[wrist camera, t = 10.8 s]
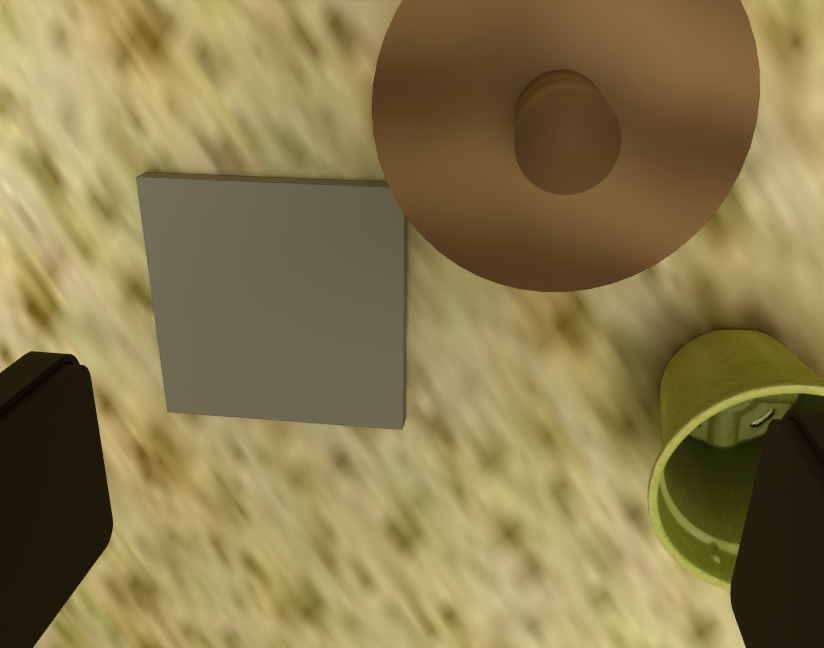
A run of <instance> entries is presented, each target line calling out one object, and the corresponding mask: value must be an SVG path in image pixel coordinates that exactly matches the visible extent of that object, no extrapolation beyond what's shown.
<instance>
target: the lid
mask: <svg viewBox="0 0 824 648" xmlns="http://www.w3.org/2000/svg"><path fill="white" fill-rule="evenodd" d="M759 98H760V70H759V62H758V56H757V49H756V42H755V39H754V36H753V32H752V29H751V26H750V22H749V19H748V16H747V14H746V12H745V10H744V7H743V5H742V3H741V1H740V0H403V1H402V2H401V4H400V6H399V7H398V9H397V11H396V13H395V15H394V17H393V19H392V21H391V24H390V26H389V28H388V30H387V32H386V35H385V38H384V41H383V44H382V47H381V50H380V54H379V57H378V61H377V66H376V72H375V77H374V82H373V97H372V119H373V133H374V138H375V143H376V148H377V153H378V158H379V161H380V164H381V167H382V170H383V173H384V176H385V179H386V181H387V183H388V185H389V187H390V189H391V191H392V194H393V196H394V198H395V200H396V202H397V203H398V205H399V206H400V208H401V209H402V211H403V212H404V214H405V215H406V217H407V218H408V220H409V221H410V222H411V223H412V225H413V226H414V227H415V228H416V229H417V231H418V232H419V233H420V234H421V235H422V236H423V238H425V239H426V240H427V241H428V242H429V243H430V244H431V245H432V246H433V247H434V248H436V249H437V250H438V251H439V252H440V253H441V254H443V255H444V256H446V257H447V258H449V259H450V260H451V261H453V262H454V263H456V264H457V265H459V266H460V267H462V268H464V269H466V270H468V271H470V272H472V273H474V274H476V275H477V276H480V277H482V278H485V279H488V280H490V281H493V282H496V283H498V284H502V285H506V286H510V287H514V288H518V289H523V290H532V291H540V292H569V291H578V290H586V289H592V288H596V287H600V286H604V285H608V284H612V283H615V282H618V281H620V280H623V279H626V278H628V277H631V276H634V275H636V274H638V273H640V272H642V271H644V270H646V269H648V268H650V267H651V266H653V265H655V264H657V263H659V262H660V261H662V260H663V259H665V258H666V257H668V256H669V255H671V254H672V253H673V252H675V251H676V250H678V249H679V248H680V247H681V246H682V245H684V244H685V243H686V242H687V241H688V240H689V239H691V238H692V237H693V236H694V235H695V234H696V233H697V232H698V231H699V230H700V229H701V228H702V227H703V226H704V225H705V223H706V222H707V221H708V220H709V219H710V218H711V217H712V216H713V215H714V213H715V212H716V210H717V209H718V208H719V206H720V205H721V203H722V202H723V201H724V199H725V198H726V196H727V195H728V194H729V192H730V190H731V188H732V186H733V184H734V183H735V181H736V179H737V177H738V175H739V173H740V172H741V169H742V167H743V164H744V161H745V159H746V156H747V154H748V151H749V149H750V146H751V142H752V138H753V134H754V130H755V126H756V122H757V115H758V106H759Z"/></svg>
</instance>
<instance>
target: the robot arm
mask: <svg viewBox="0 0 824 648" xmlns="http://www.w3.org/2000/svg"><path fill="white" fill-rule="evenodd" d="M112 529H113V517H112V511H111V504H110V498H109V491H108V485H107V478H106V472H105V465H104V459H103V452H102V446H101V439H100V433H99V427H98V420H97V414H96V407H95V401H94V394H93V388H92V381H91V376H90V372H89V370H88V368H87V367H86V366H84V365H80V364H79V362H78V360H77V358H76V357H75V356H73V355H72V354H60V353H47V352H34V351H31V352H29V353H27V354H25V355H24V356H22V357H21V358H20V359H18V360H17V361H16V362H14V363H13V364H12V365H10V366H9V367H8V368H6V369H5V370H4V371H2V372H1V373H0V648H33V647H34V645H35V644H36V643H37V641H38V640H39V639H40V637H41V636H42V634H43V633H44V632H45V630H46V629H47V628H48V626H49V625H50V624H51V622H52V621H53V619H54V618H55V617H56V615H57V614H58V613H59V611H60V610H61V608H62V607H63V606H64V604H65V603H66V602H67V600H68V599H69V597H70V596H71V595H72V593H73V592H74V591H75V589H76V588H77V587H78V585H79V584H80V582H81V581H82V580H83V578H84V577H85V576H86V574H87V573H88V571H89V570H90V569H91V567H92V566H93V565H94V563H95V562H96V561H97V559H98V558H99V556H100V555H101V554H102V552H103V551H104V550H105V548H106V547H107V545H108V543H109V541H110V538H111V534H112ZM730 595H731V605H732V609H733V612H734V615H735V618H736V621H737V624H738V626H739V629H740V632H741V635H742V638H743V641H744V643H745V646H746V648H824V412H820V411H807V410H794V409H790V410H788V411H787V412H786V413H785V415H784V416H783V419H772V420H771V421H770V423H769V425H768V427H767V431H766V435H765V439H764V443H763V448H762V452H761V456H760V460H759V465H758V469H757V473H756V477H755V482H754V486H753V490H752V494H751V499H750V503H749V507H748V511H747V516H746V520H745V524H744V528H743V533H742V537H741V541H740V546H739V550H738V554H737V558H736V563H735V567H734V571H733V575H732V580H731V589H730Z"/></svg>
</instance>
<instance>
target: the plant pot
mask: <svg viewBox="0 0 824 648" xmlns="http://www.w3.org/2000/svg"><path fill="white" fill-rule="evenodd" d="M772 408H773V409H775V413H774V415H773V416H772V417H771V418H769V419H768V420H767V421H765V422H764V423H763V424H761V425H759V426H758V427H751V426H750V424H751V423H752V422H754V421H756V420H757V419H760V418H762V417H763V416H764V415H765V414H767V413H768V412H769V411H770V410H771V409H772ZM660 409H661V437H662V448H661V451H660V453H659V455H658V457H657V459H656V461H655V464H654V466H653V469H652V472H651V475H650V479H649V486H648V510H649V515H650V520H651V524H652V526H653V529H654V531H655V533H656V535H657V537H658V539H659V541H660V543H661V544H662V546H663V547H664V549H665V550H666V551H667V552H668V554H669V555H670V556H671V557H672V558H673V559H674V560H675V561H676V562H677V563H678V564H680V565H681V566H682V567H683V568H685V569H686V570H687V571H689V572H690V573H691V574H693V575H694V576H696V577H698V578H699V579H701V580H703V581H705V582H707V583H709V584H711V585H714V586H716V587H718V588H722V589H725V590H728V591H730V589H731V580H732V575H733V571H734V567H735V563H736V558H737V554H738V550H739V546H740V541H741V537H742V533H743V528H744V524H745V520H746V516H747V511H748V507H749V503H750V499H751V494H752V490H753V486H754V482H755V477H756V473H757V469H758V465H759V460H760V456H761V452H762V448H763V443H764V439H765V435H766V431H767V427H768V425H769V423H770V421H771V420H772V419H783V416H784V415H785V413H786V412H787V411H788V410H790V409H794V410H807V411H820V412H824V380H823V379H821V378H820V377H819V376H818V375H817V374H816V373H814V372H813V371H812V370H811V369H810V368H809V367H807V366H806V365H805V364H804V363H803V362H802V361H801V360H800V359H798V358H797V357H796V356H795V355H794V354H793V353H792V352H790V351H789V350H788V349H787V348H786V347H785V346H784V345H782V344H781V343H780V342H779V341H777V340H776V339H774V338H772V337H771V336H769V335H767V334H765V333H762V332H759V331H755V330H715V331H712V332H708V333H706V334H703V335H701V336H699V337H697V338H695V339H693V340H691V341H690V342H688V343H687V344H685V345H684V346H683V347H682V348H681V349H680V350H679V351H678V352H677V353H676V354H675V355H674V356H673V357H672V359H671V360H670V361H669V363H668V365H667V366H666V368H665V371H664V374H663V377H662V382H661V387H660ZM700 424H701V425H700ZM698 425H700V426H699V427H697V426H698Z"/></svg>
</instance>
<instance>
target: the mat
mask: <svg viewBox="0 0 824 648" xmlns="http://www.w3.org/2000/svg"><path fill="white" fill-rule="evenodd" d="M136 180H137V188H138V195H139V203H140V210H141V217H142V225H143V232H144V240H145V247H146V255H147V262H148V270H149V277H150V285H151V292H152V300H153V307H154V315H155V322H156V330H157V337H158V345H159V352H160V359H161V367H162V374H163V382H164V389H165V397H166V404H167V412H172V413H185V414H199V415H212V416H225V417H239V418H252V419H265V420H278V421H292V422H305V423H318V424H332V425H345V426H358V427H371V428H385V429H398V430H403V427H404V423H405V405H406V285H407V217H406V215H405V214H404V212H403V211H402V209H401V208H400V206H399V205H398V203H397V202H396V200H395V198H394V196H393V194H392V191H391V189H390V187H389V185H388V183H387V182H375V181H351V180H326V179H302V178H277V177H252V176H228V175H203V174H178V173H154V172H145V173H143V174H141V175H140V176H138V177H136Z"/></svg>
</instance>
